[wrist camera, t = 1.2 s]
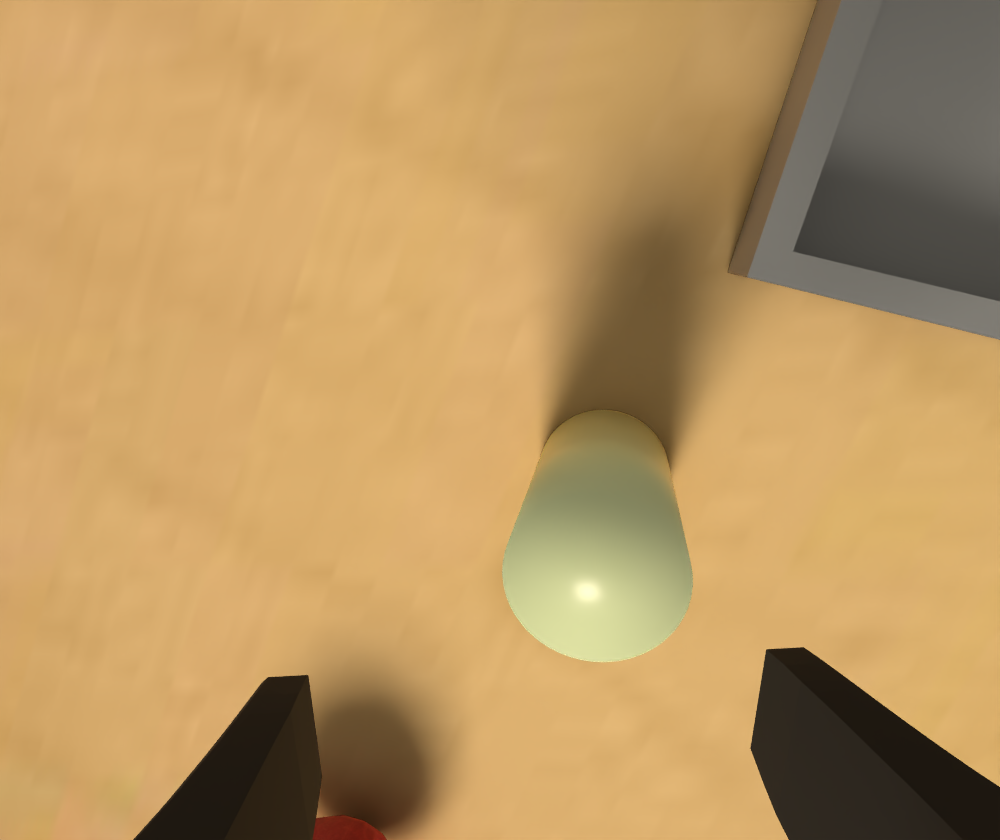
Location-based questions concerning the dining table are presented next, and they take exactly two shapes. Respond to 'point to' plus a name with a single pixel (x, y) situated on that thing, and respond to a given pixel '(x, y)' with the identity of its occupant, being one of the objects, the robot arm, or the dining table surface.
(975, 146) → the tray
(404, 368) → the dining table surface
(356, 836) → the onion
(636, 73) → the dining table surface
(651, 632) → the pale green cylinder
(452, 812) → the dining table surface
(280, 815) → the robot arm
